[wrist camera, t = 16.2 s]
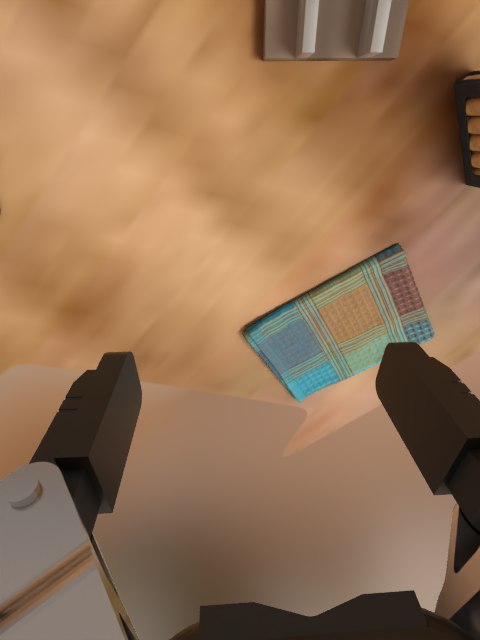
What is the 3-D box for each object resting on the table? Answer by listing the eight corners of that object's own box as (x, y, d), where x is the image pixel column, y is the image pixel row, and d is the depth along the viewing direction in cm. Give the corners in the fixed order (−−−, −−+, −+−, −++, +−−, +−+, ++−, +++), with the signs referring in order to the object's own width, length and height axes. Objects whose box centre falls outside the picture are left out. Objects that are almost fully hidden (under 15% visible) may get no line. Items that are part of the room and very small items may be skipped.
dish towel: (239, 326, 46) (240, 337, 44) (395, 238, 40) (405, 245, 38) (293, 395, 54) (296, 407, 52) (430, 331, 48) (440, 341, 46)
